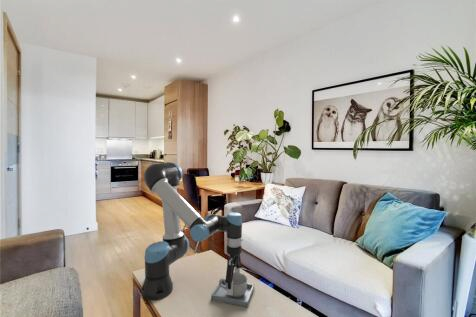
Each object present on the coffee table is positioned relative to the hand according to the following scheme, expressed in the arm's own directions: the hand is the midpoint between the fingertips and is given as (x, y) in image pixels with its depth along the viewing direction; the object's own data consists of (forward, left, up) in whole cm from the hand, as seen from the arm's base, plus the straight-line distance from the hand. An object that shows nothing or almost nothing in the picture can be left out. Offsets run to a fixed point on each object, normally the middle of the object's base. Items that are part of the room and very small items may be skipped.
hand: (233, 287), depth 120 cm
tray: (0, 0, -4) cm, 4 cm away
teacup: (0, 0, -3) cm, 3 cm away
